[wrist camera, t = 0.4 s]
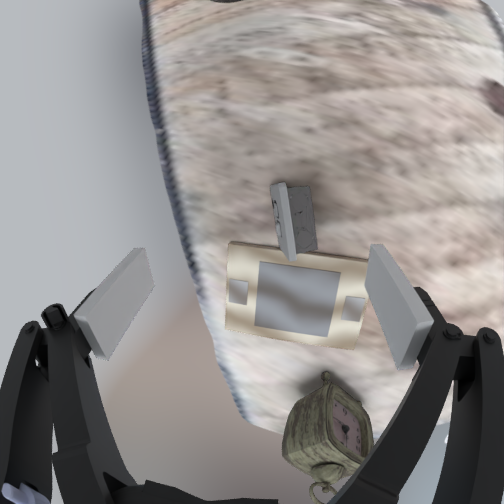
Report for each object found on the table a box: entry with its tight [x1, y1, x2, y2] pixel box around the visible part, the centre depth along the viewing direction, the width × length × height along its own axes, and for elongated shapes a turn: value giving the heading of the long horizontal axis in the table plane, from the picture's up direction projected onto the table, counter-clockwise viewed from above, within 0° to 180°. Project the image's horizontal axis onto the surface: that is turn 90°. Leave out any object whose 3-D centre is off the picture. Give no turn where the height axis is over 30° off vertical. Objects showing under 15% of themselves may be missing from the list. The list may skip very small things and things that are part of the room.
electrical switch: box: [270, 182, 318, 262], centre depth 35 cm, size 9×5×9 cm, turn 10°
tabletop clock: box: [282, 372, 374, 504], centre depth 34 cm, size 14×9×25 cm, turn 47°
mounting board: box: [225, 242, 369, 350], centre depth 41 cm, size 15×22×2 cm
